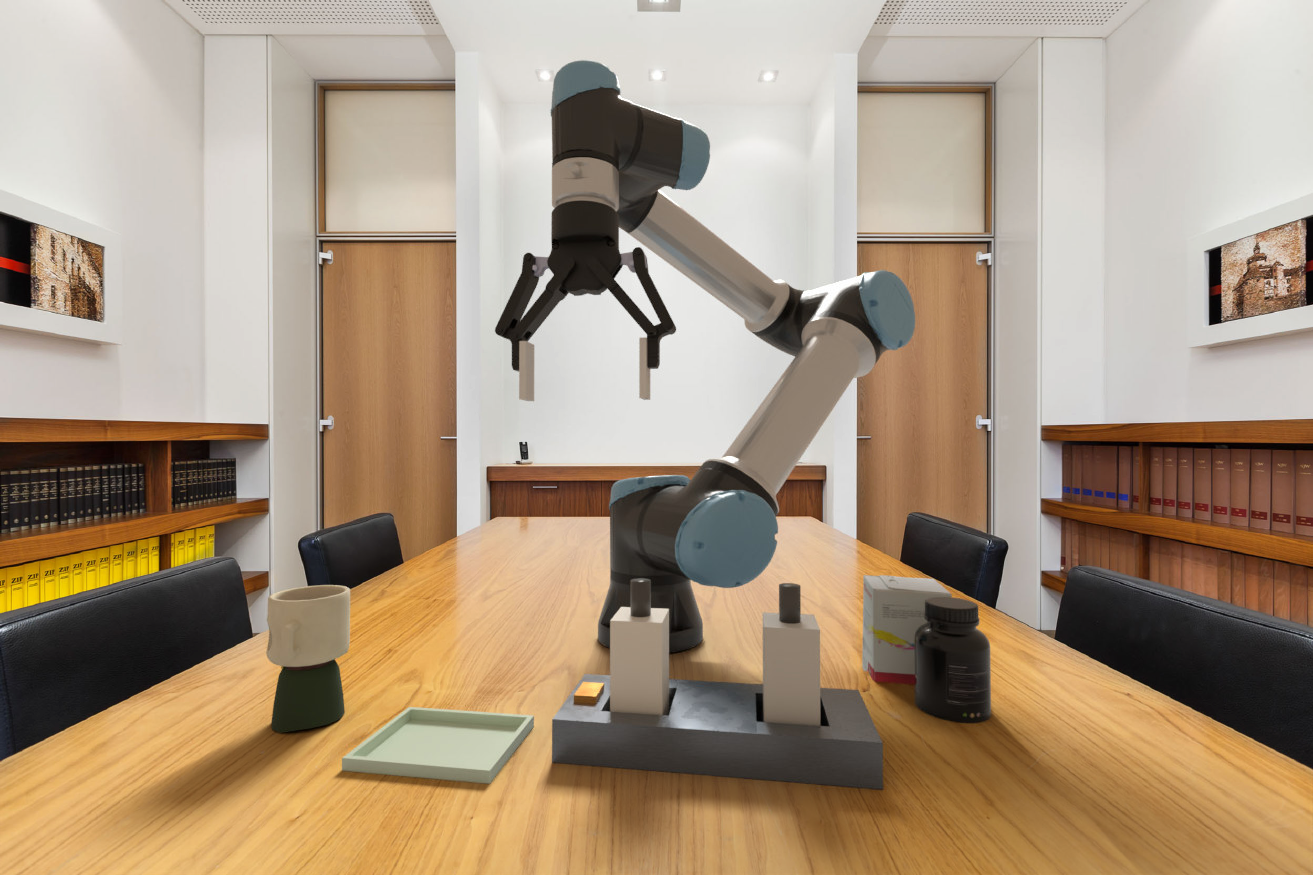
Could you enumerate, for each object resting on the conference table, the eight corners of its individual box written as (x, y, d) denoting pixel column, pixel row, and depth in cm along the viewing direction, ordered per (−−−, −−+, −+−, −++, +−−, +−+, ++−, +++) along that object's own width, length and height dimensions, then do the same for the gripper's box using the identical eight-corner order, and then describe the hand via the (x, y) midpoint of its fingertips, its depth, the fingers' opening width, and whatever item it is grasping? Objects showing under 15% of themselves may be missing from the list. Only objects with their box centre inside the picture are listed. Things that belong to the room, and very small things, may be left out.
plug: (620, 725, 56) (621, 574, 56) (669, 729, 55) (668, 576, 55) (610, 749, 51) (610, 585, 51) (662, 753, 50) (662, 587, 51)
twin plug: (762, 735, 54) (762, 578, 54) (814, 739, 53) (813, 580, 53) (764, 761, 49) (763, 590, 49) (820, 765, 49) (819, 592, 49)
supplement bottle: (902, 709, 63) (901, 594, 63) (964, 706, 63) (963, 592, 63) (938, 741, 56) (937, 611, 56) (1007, 738, 56) (1006, 610, 57)
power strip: (584, 724, 59) (584, 667, 59) (858, 744, 55) (858, 683, 55) (552, 780, 49) (552, 711, 49) (883, 809, 45) (882, 734, 45)
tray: (409, 721, 60) (409, 706, 60) (533, 731, 58) (533, 715, 58) (341, 776, 50) (342, 758, 50) (489, 789, 48) (489, 770, 48)
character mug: (294, 703, 64) (295, 581, 64) (365, 699, 65) (366, 579, 65) (239, 755, 53) (241, 608, 53) (325, 749, 54) (327, 605, 54)
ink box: (955, 701, 65) (954, 591, 65) (871, 695, 66) (871, 587, 67) (934, 672, 73) (934, 575, 73) (861, 667, 75) (860, 572, 75)
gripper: (465, 204, 65) (464, 398, 65) (693, 189, 62) (693, 395, 61) (494, 229, 73) (493, 403, 72) (699, 217, 69) (699, 400, 69)
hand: (584, 399), depth 67 cm, fingers open, 13 cm apart
